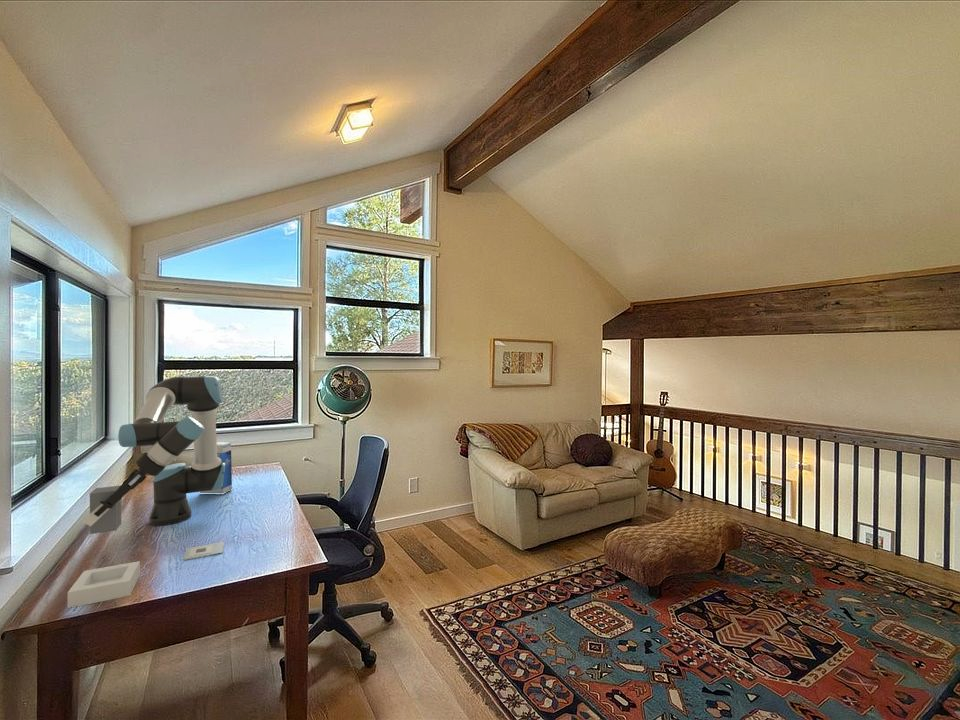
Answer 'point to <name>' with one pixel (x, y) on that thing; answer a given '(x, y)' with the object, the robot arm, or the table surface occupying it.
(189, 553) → the card
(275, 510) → the table surface
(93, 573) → the socket base
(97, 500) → the charcoal pillar
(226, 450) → the string lights box
